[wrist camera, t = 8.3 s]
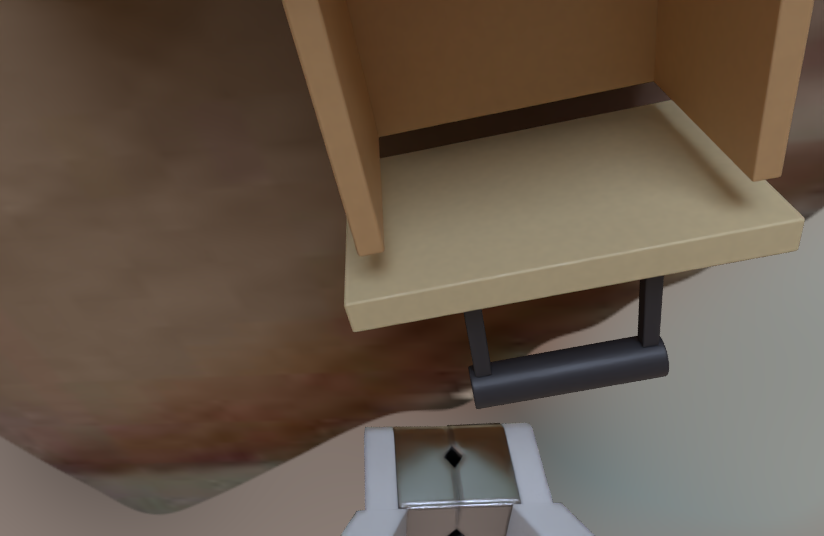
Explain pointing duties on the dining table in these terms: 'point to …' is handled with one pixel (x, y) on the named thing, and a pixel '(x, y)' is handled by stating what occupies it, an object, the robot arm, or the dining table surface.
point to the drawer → (551, 160)
